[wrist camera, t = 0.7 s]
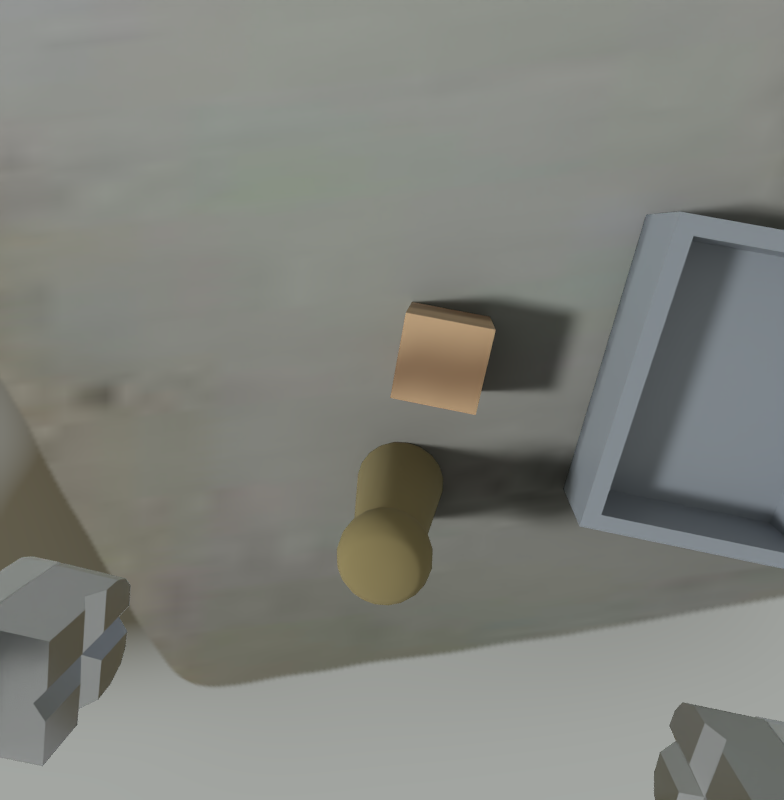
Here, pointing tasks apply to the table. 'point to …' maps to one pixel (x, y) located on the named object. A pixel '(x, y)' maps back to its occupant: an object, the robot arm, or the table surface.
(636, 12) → the table surface
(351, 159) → the table surface
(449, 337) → the tan cube
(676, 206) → the table surface
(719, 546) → the tote
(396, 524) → the cork
